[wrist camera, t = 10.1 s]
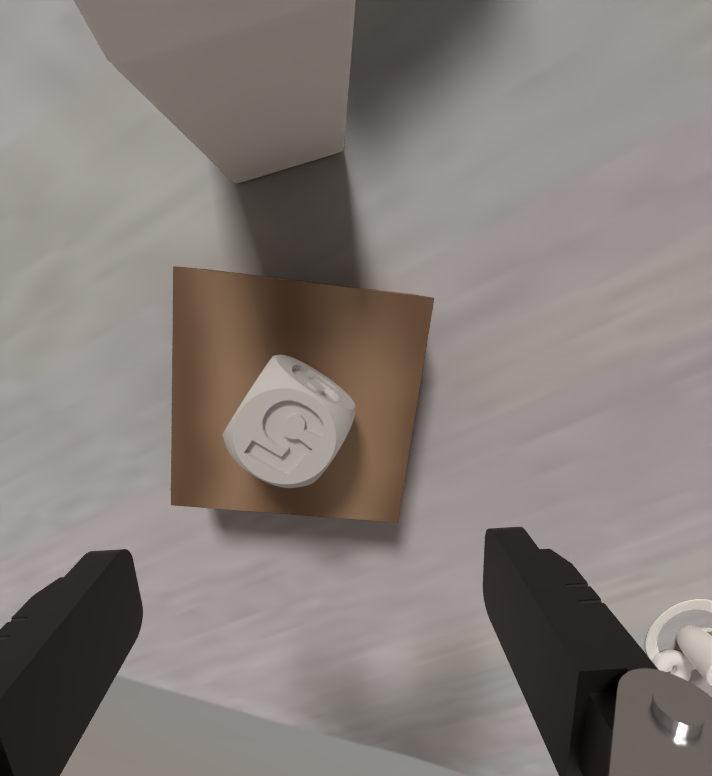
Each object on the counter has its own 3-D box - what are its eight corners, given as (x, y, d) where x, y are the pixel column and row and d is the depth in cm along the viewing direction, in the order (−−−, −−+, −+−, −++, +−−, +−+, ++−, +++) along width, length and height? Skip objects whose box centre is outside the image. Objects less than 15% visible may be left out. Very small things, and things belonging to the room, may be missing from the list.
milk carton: (192, 56, 24) (-262, -660, 6) (309, 19, 24) (230, -836, 6) (235, 185, 26) (-4, -43, 8) (344, 152, 26) (371, -163, 7)
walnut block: (413, 294, 29) (434, 298, 23) (386, 478, 32) (397, 522, 26) (206, 269, 28) (173, 266, 22) (201, 462, 31) (170, 505, 25)
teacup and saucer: (651, 684, 39) (687, 730, 35) (620, 627, 37) (654, 668, 33) (739, 640, 38) (785, 682, 34) (711, 579, 36) (757, 616, 32)
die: (235, 418, 24) (210, 453, 19) (280, 346, 23) (265, 364, 18) (308, 461, 25) (302, 504, 20) (355, 393, 24) (359, 422, 19)
